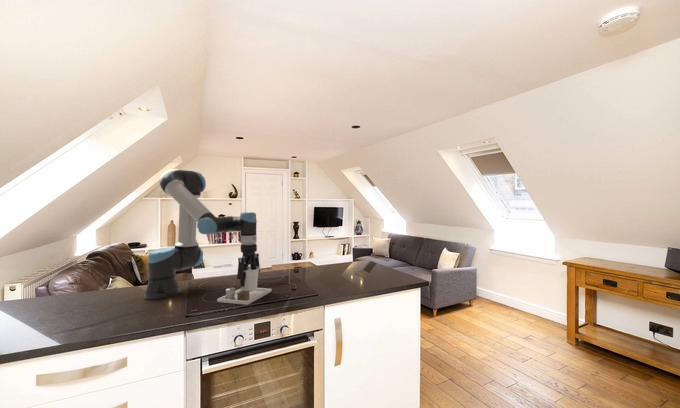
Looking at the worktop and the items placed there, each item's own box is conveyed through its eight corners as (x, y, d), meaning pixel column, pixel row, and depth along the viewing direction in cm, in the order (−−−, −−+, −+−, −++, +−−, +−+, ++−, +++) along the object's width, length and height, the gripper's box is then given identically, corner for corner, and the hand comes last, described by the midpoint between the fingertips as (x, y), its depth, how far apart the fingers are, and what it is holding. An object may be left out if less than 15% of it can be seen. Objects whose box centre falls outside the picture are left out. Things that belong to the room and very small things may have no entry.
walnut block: (237, 302, 127) (237, 293, 127) (240, 299, 131) (240, 290, 131) (246, 302, 127) (246, 293, 127) (249, 299, 131) (249, 290, 131)
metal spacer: (223, 300, 129) (223, 289, 129) (229, 297, 133) (229, 287, 133) (231, 301, 128) (231, 290, 128) (236, 298, 132) (236, 287, 132)
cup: (256, 293, 133) (256, 270, 133) (235, 294, 133) (235, 270, 133) (262, 287, 143) (262, 266, 143) (243, 288, 143) (242, 266, 143)
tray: (217, 304, 128) (217, 298, 128) (244, 291, 147) (244, 286, 147) (247, 307, 123) (247, 301, 123) (271, 293, 142) (271, 288, 142)
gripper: (241, 247, 127) (242, 297, 127) (267, 241, 147) (267, 285, 147) (228, 246, 129) (228, 296, 129) (254, 241, 150) (255, 284, 149)
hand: (249, 290), depth 138 cm, fingers closed on cup, 8 cm apart
